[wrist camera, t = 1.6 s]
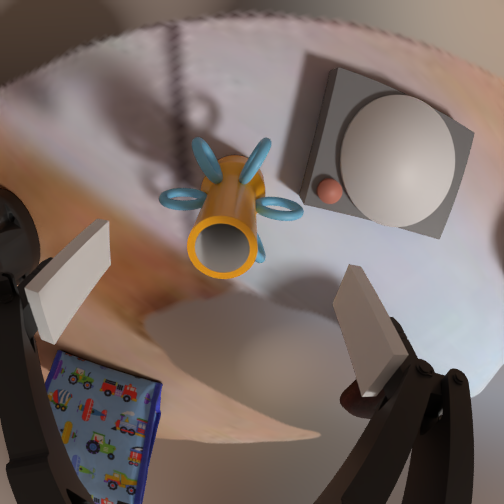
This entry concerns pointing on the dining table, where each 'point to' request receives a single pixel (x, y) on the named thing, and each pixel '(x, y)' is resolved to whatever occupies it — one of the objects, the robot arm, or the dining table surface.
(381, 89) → the mount slab
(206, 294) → the dining table surface
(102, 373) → the lunch bag
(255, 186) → the yellow tube with rings
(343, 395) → the decorative mushroom
